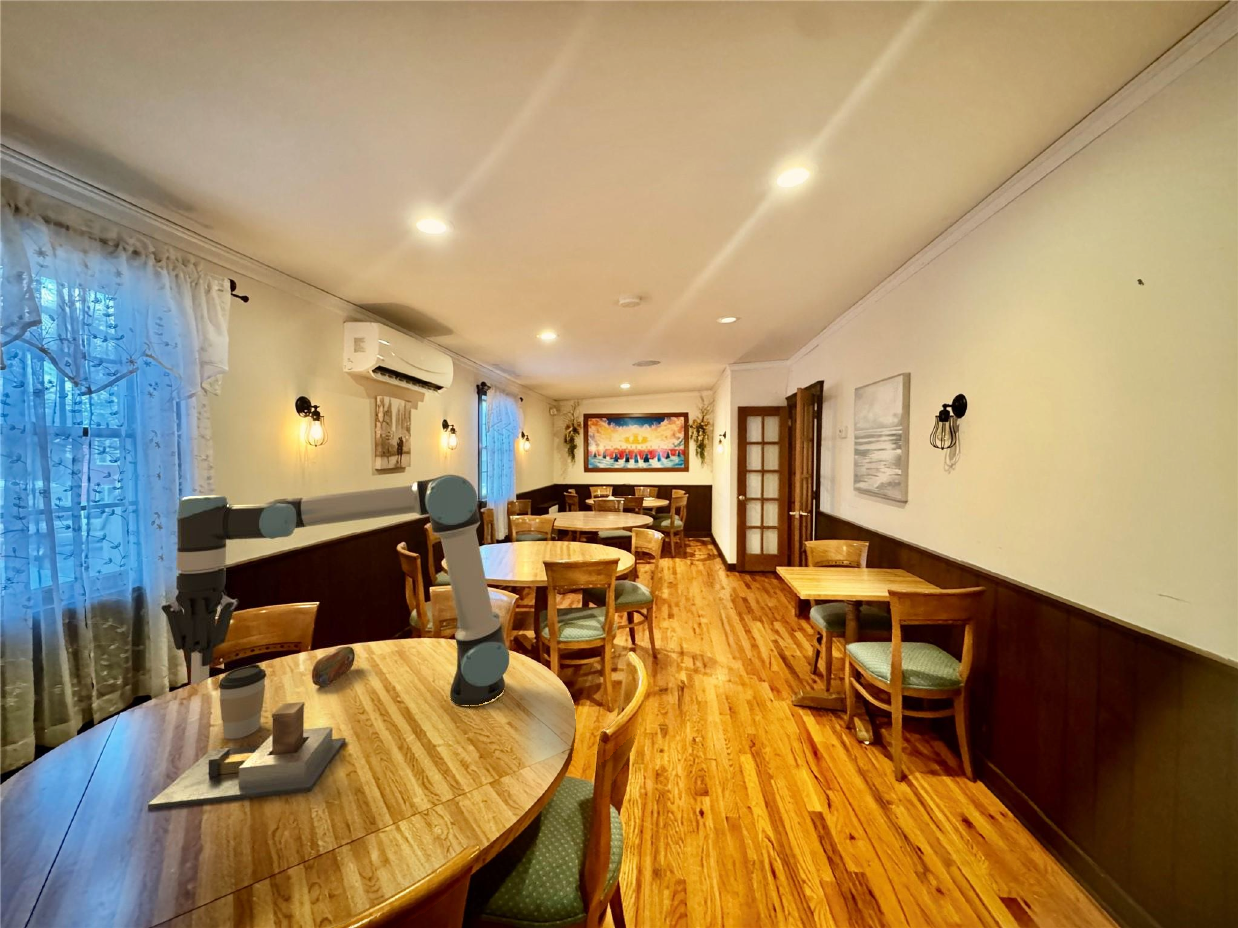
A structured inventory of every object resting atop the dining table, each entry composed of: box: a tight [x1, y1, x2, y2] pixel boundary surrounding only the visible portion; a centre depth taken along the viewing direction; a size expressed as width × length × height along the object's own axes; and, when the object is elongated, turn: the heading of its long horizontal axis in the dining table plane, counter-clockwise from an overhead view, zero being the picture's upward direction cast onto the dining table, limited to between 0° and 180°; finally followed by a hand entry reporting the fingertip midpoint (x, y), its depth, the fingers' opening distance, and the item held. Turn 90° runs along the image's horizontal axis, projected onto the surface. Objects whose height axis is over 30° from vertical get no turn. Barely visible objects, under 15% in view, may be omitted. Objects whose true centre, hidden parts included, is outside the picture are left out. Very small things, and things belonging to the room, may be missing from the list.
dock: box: [147, 726, 346, 810], centre depth 93 cm, size 28×16×5 cm, turn 100°
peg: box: [271, 701, 305, 755], centre depth 95 cm, size 4×4×12 cm
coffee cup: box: [217, 663, 267, 740], centre depth 108 cm, size 9×9×15 cm
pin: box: [208, 747, 253, 777], centre depth 93 cm, size 11×4×4 cm, turn 100°
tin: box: [311, 646, 356, 687], centre depth 134 cm, size 15×3×8 cm, turn 174°
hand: (200, 680), depth 92 cm, fingers closed
